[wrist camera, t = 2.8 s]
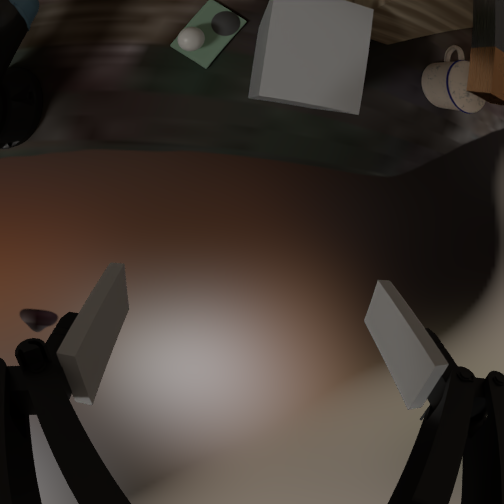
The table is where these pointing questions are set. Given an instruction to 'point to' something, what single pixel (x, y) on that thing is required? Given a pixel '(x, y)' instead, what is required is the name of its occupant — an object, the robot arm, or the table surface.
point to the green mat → (212, 32)
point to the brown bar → (487, 51)
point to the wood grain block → (416, 18)
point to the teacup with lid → (450, 84)
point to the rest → (312, 54)
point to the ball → (191, 38)
